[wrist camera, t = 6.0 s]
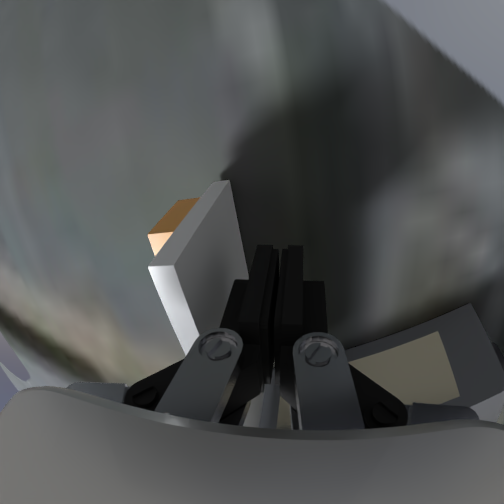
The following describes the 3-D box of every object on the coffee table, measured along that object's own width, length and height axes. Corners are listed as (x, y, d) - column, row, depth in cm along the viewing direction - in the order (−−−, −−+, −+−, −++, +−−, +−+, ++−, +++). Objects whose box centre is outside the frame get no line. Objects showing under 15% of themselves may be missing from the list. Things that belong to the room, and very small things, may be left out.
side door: (267, 368, 20) (254, 457, 14) (243, 367, 21) (224, 454, 15) (229, 179, 14) (173, 265, 8) (193, 184, 14) (119, 267, 8)
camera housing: (303, 421, 25) (297, 493, 18) (257, 372, 21) (241, 464, 15) (480, 366, 18) (503, 439, 12) (484, 295, 15) (530, 386, 9)
